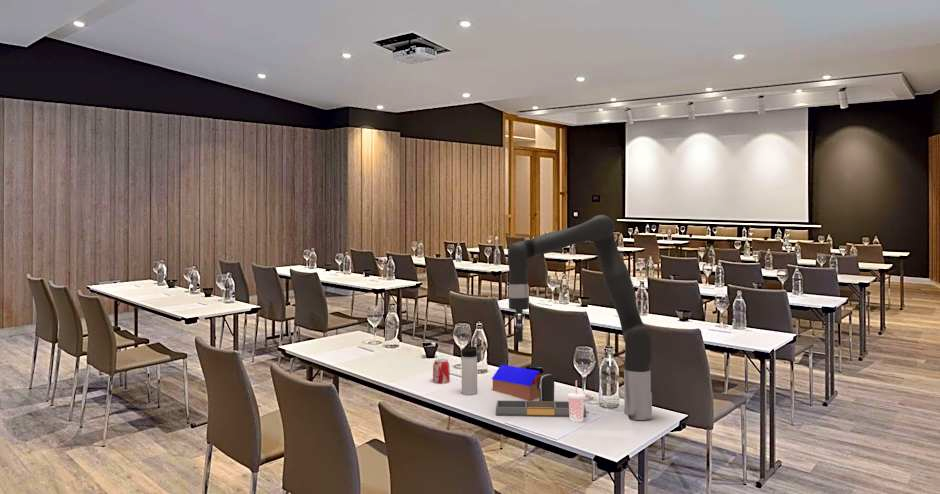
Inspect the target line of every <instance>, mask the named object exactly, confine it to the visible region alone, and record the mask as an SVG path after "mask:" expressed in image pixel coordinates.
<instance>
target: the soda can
mask: <svg viewBox="0 0 940 494" xmlns="http://www.w3.org/2000/svg"><path fill="white" fill-rule="evenodd" d="M450 374H451V373H450V362H449V360H448V359H446V358H445V359H442V358H441V359H434V362H433V365H432V380H433V381H432V382H433V384H437V385H445V384H449V383H450V381H451V380H450V379H451V378H450V376H451V375H450Z"/></svg>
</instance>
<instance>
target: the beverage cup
mask: <svg viewBox="0 0 940 494" xmlns="http://www.w3.org/2000/svg"><path fill="white" fill-rule="evenodd" d="M567 398H568V402H569V415H570V417H569V421H570V422H573V423H582V422H583V421H584V417H583V414H584V404H585V398H586V394H585V393H582V392H578V380H577V379H576V380H575V392H568V393H567Z"/></svg>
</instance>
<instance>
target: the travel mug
mask: <svg viewBox="0 0 940 494" xmlns="http://www.w3.org/2000/svg"><path fill="white" fill-rule="evenodd" d="M461 394H462V395H464V396H475V395H476V396H477V395H478V348H477V347H476V346H469V347H468V346H467V347H464V348H462V349H461Z"/></svg>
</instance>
